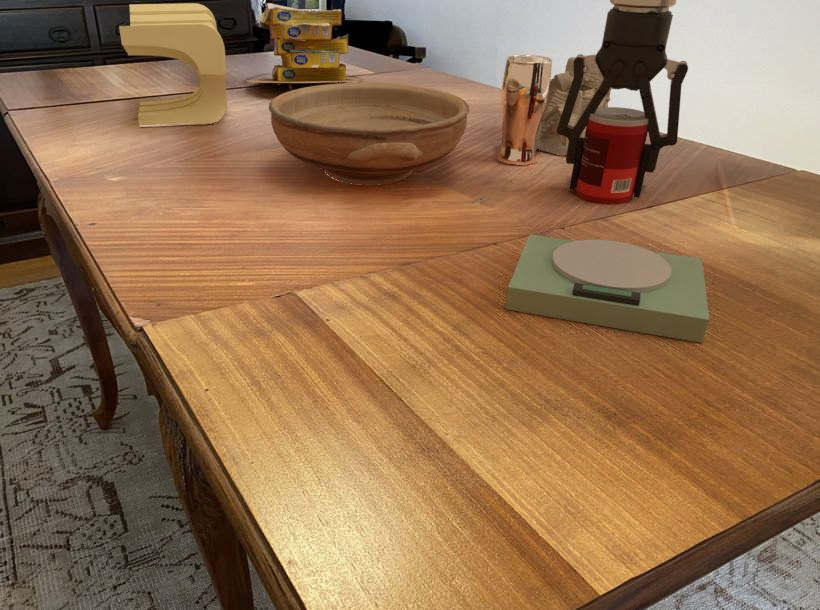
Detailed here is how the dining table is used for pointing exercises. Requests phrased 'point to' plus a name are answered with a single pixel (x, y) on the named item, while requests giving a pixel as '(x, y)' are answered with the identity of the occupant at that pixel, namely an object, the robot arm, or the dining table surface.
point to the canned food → (611, 155)
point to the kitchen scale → (611, 286)
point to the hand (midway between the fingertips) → (604, 190)
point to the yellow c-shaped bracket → (180, 58)
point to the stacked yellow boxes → (305, 45)
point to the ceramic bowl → (368, 128)
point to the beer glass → (523, 106)
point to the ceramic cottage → (555, 104)
